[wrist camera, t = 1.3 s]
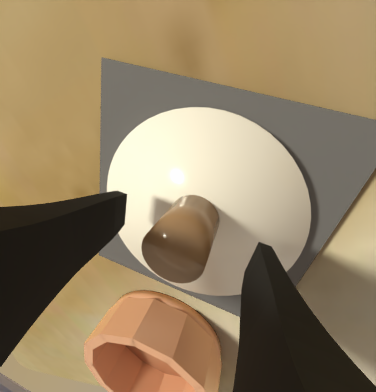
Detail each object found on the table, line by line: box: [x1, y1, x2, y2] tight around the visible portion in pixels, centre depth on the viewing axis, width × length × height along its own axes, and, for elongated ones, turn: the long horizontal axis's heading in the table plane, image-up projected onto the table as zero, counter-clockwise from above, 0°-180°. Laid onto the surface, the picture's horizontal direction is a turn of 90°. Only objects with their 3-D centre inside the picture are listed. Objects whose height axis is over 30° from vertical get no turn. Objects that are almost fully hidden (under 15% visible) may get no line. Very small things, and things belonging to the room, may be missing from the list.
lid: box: [107, 107, 311, 296], centre depth 11 cm, size 12×12×4 cm
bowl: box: [84, 290, 222, 392], centre depth 17 cm, size 11×11×4 cm
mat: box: [99, 58, 376, 317], centre depth 13 cm, size 14×14×1 cm
